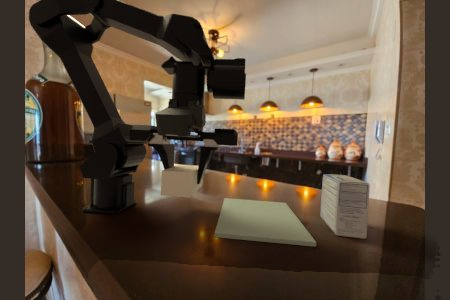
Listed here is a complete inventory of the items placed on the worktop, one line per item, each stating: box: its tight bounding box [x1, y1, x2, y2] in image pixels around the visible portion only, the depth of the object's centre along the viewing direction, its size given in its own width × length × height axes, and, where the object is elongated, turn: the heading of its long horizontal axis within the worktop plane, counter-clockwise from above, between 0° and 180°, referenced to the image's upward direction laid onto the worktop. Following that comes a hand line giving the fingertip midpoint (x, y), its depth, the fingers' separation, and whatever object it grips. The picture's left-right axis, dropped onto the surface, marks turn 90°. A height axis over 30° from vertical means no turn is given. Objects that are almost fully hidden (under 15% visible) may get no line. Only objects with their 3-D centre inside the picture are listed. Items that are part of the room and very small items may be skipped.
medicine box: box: [320, 173, 370, 240], centre depth 32 cm, size 8×4×9 cm, turn 168°
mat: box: [214, 197, 317, 247], centre depth 34 cm, size 14×17×1 cm
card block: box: [160, 164, 204, 199], centre depth 34 cm, size 5×9×4 cm, turn 175°
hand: (184, 182), depth 34 cm, fingers closed on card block, 5 cm apart
